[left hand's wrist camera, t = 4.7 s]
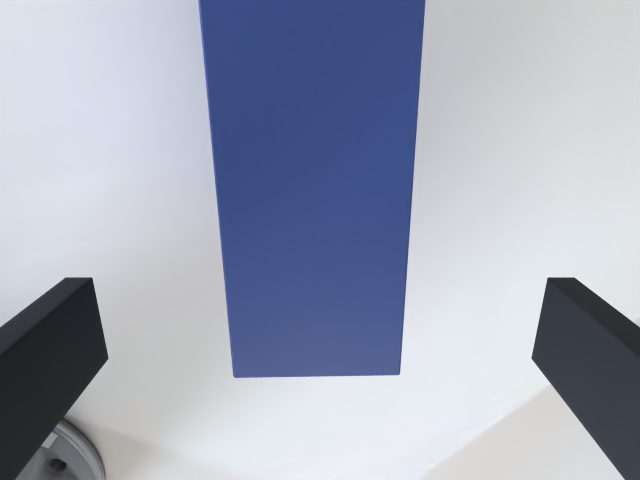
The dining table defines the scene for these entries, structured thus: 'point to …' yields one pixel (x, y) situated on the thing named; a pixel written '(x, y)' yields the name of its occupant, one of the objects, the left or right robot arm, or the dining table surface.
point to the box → (314, 178)
